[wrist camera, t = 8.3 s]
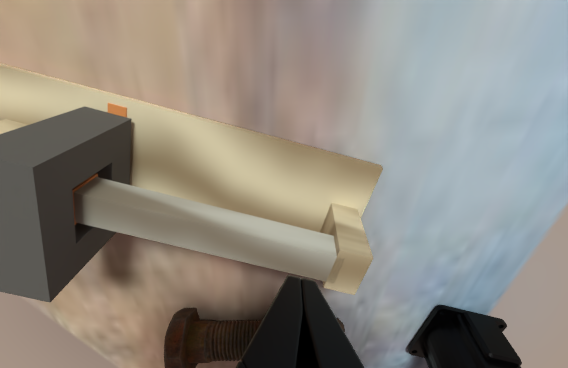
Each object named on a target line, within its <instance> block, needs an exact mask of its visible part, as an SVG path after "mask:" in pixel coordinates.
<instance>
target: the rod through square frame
mask: <svg viewBox="0 0 568 368" xmlns="http://www.w3.org/2000/svg"><path fill="white" fill-rule="evenodd" d="M84 106H85V107H89V108H93V109H96V110H100V111H104V112H108V113H112V114H115V115H119V116H123V117H127V118H131V119H132V120H131V152H130V184H129V185H127V184H123V183H119V182H115V181H111V180H107V179H103V178H99V177H98V174H97V173H95V174H94V175H92V176H91V177H89V178H88V179H86V180H85V181H83V182H82V183H80V184H79V185H77V186H76V187H74V188H73V189H72V192H73V207H74V222H75V225H76V224H77V223H81V224H85V225H89V226H93V227H98V228H102V229H106V230H110V231H114V232H119V233H123V234H127V235H131V236H135V237H140V238H144V239H148V240H152V241H156V242H161V243H165V244H169V245H173V246H177V247H182V248H186V249H190V250H194V251H199V252H203V253H207V254H211V255H215V256H220V257H224V258H228V259H232V260H236V261H241V262H245V263H249V264H253V265H257V266H262V267H266V268H270V269H274V270H279V271H283V272H287V273H291V274H295V275H300V276H304V277H308V278H312V279H316V280H321V281H323V288H327V289H331V290H335V291H340V292H344V293H348V294H352V295H355V293H356V291H357V289H358V287H359V285H360V283H361V281H362V279H363V277H364V275H365V274H366V272H367V270H368V268H369V266H370V264H371V262H372V260H373V256H372V253H371V250H370V247H369V243H368V240H367V237H366V234H365V231H364V228H363V225H362V222H361V216H362V214H363V212H364V210H365V207H366V205H367V203H368V201H369V199H370V196H371V194H372V192H373V190H374V188H375V185H376V183H377V181H378V179H379V176H380V174H381V172H382V170H383V168H382V166H381V165H378V164H374V163H371V162H367V161H363V160H359V159H356V158H352V157H348V156H344V155H341V154H337V153H333V152H330V151H326V150H322V149H318V148H315V147H311V146H307V145H303V144H300V143H296V142H292V141H289V140H285V139H281V138H277V137H274V136H270V135H266V134H262V133H259V132H255V131H251V130H248V129H244V128H240V127H236V126H233V125H229V124H225V123H222V122H218V121H214V120H210V119H207V118H203V117H199V116H195V115H192V114H188V113H184V112H181V111H177V110H173V109H169V108H166V107H162V106H158V105H154V104H151V103H147V102H143V101H140V100H136V99H132V98H128V97H125V96H121V95H117V94H113V93H110V92H106V91H102V90H99V89H95V88H91V87H87V86H84V85H80V84H76V83H73V82H69V81H65V80H61V79H58V78H54V77H50V76H46V75H43V74H39V73H35V72H32V71H28V70H24V69H20V68H17V67H13V66H9V65H5V64H2V63H0V134H2V133H5V132H8V131H11V130H14V129H17V128H20V127H23V126H26V125H30V124H33V123H36V122H39V121H42V120H45V119H48V118H51V117H54V116H57V115H60V114H63V113H66V112H69V111H72V110H75V109H78V108H81V107H84Z"/></svg>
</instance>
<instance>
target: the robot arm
mask: <svg viewBox="0 0 568 368" xmlns="http://www.w3.org/2000/svg"><path fill="white" fill-rule="evenodd" d="M506 327H507V325H506V323H505V322H504V320H502V319H499V318H494V317H491V316H487V315H482V314H478V313H474V312H470V311H466V310H461V309H457V308H453V307H449V306H445V305H439V306H437V307H436V308H435V309H434V311H433V312H432V314H431V315H430V317H429V318H428V319H427V321H426V322H425V324H424V325H423V327H422V328H421V329H420V331H419V332H418V334H417V335H416V337H415V338H414V339H413V341H412V342H411V344H410V345H409V347H408V350H409V353H410V354H411V355H414V356H419V357H423V358H425V359H426V361H427V364H428V367H429V368H521V367H520V365H521V364H522V362H521V360H520V358H519V356H518V355H517V353H516V352H515V351H514V349H513V348H512V346H511V345H510V343H509V342H508V340H507V339H506V337H505V336H504V334H503V333H502V332H503V331H504V329H505V328H506ZM236 368H364V366H363V364H362V363H361V361H360V359H359V357H358V356H357V354H356V352H355V350H354V349H353V347H352V345H351V343H350V342H349V340H348V338H347V336H346V335H345V333H344V331H343V329H342V328H341V326H340V324H339V322H338V321H337V319H336V317H335V316H334V314H333V312H332V310H331V309H330V307H329V305H328V303H327V302H326V300H325V298H324V296H323V295H322V293H321V291H320V289H319V288H318V286H317V284H316V282H315V281H314V280H310V279H305V278H302V279H300V278H299V277H296V276H291V275H288V276H287V277H286V279H285V281H284V283H283V285H282V286H281V288H280V290H279V292H278V293H277V295H276V297H275V299H274V301H273V302H272V304H271V306H270V308H269V310H268V311H267V313H266V315H265V317H264V318H263V320H262V322H261V324H260V326H259V327H258V329H257V331H256V333H255V335H254V336H253V338H252V340H251V342H250V343H249V345H248V347H247V349H246V351H245V352H244V354H243V356H242V358H241V360H240V362H239V363H238V365H237V366H236Z"/></svg>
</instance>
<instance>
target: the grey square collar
mask: <svg viewBox="0 0 568 368" xmlns="http://www.w3.org/2000/svg"><path fill="white" fill-rule="evenodd" d="M131 120H132V119H131V118H127V117H123V116H119V115H115V114H112V113H108V112H104V111H100V110H96V109H93V108H89V107H85V106H84V107H81V108H78V109H75V110H72V111H69V112H66V113H63V114H60V115H57V116H54V117H51V118H48V119H45V120H42V121H39V122H36V123H33V124H30V125H26V126H23V127H20V128H17V129H14V130H11V131H8V132H5V133H2V134H0V292H5V293H9V294H14V295H18V296H23V297H27V298H32V299H37V300H41V301H46V302H51V301H52V300H53V299H54V298H55V297H56V296H57V295H58V293H59V292H60V291H61V290H62V289H63V288H64V287H65V286H66V285H67V284H68V283H69V282H70V281H71V280H72V279H73V278H74V276H75V275H76V274H77V273H78V272H79V271H80V270H81V269H82V268H83V267H84V266H85V265H86V264H87V263H88V262H89V260H90V259H91V258H92V257H93V256H94V255H95V254H96V253H97V252H98V251H99V250H100V249H101V248H102V247H103V246H104V245H105V243H106V242H107V241H108V240H109V239H110V238H111V237H112V236H113V235H114V234H115V233H116V232H114V231H110V230H106V229H102V228H98V227H93V226H89V225H85V224H81V223H77V224H76V225H75V222H74V207H73V192H72V189H73V188H74V187H76V186H77V185H79V184H80V183H82V182H83V181H85V180H86V179H88V178H89V177H91V176H92V175H94V174H95V173H97V174H98V177H99V178H103V179H107V180H111V181H115V182H119V183H123V184H127V185H129V184H130V152H131Z"/></svg>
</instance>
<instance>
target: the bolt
mask: <svg viewBox="0 0 568 368" xmlns="http://www.w3.org/2000/svg"><path fill="white" fill-rule="evenodd" d="M337 321H338V322H339V324H340V326H341V328H342V329H343V331H344V332H345V329H344V325H343V323H342V322H341V321H340V320H339V319H338V318H337ZM260 324H261V320H259V321H257V320H255V322H254V320H252V321H251V322H250V320H248V321H246V320H244V322H243V321H242V320H241V321H240V322H239V321H238V320H237V321H234V320H233V322H232V321H229V322H228V321H226V322H225V321H222V322H221V321H218V322H217V321H213V320H200V319H199V315H198V311H197V308H184V309H181V310H180V311H178V312H176V313H175V314H174V316H173V318H172V320H171V322H170V324H169V327H168V330H167V332H166V336H165V345H164V362H165V368H195V367H196V366H197V364H198V363H209V362H211V361H217V360H218V361H221V360H222V361H224V360H226V361H228V360H229V361H231V360H233V361H235V360H237V361H239V360H241V358H242V356H243V354H244V352H245V351H246V349H247V347H248V345H249V343H250V342H251V340H252V338H253V336H254V335H255V333H256V331H257V329H258V327H259V326H260Z"/></svg>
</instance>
